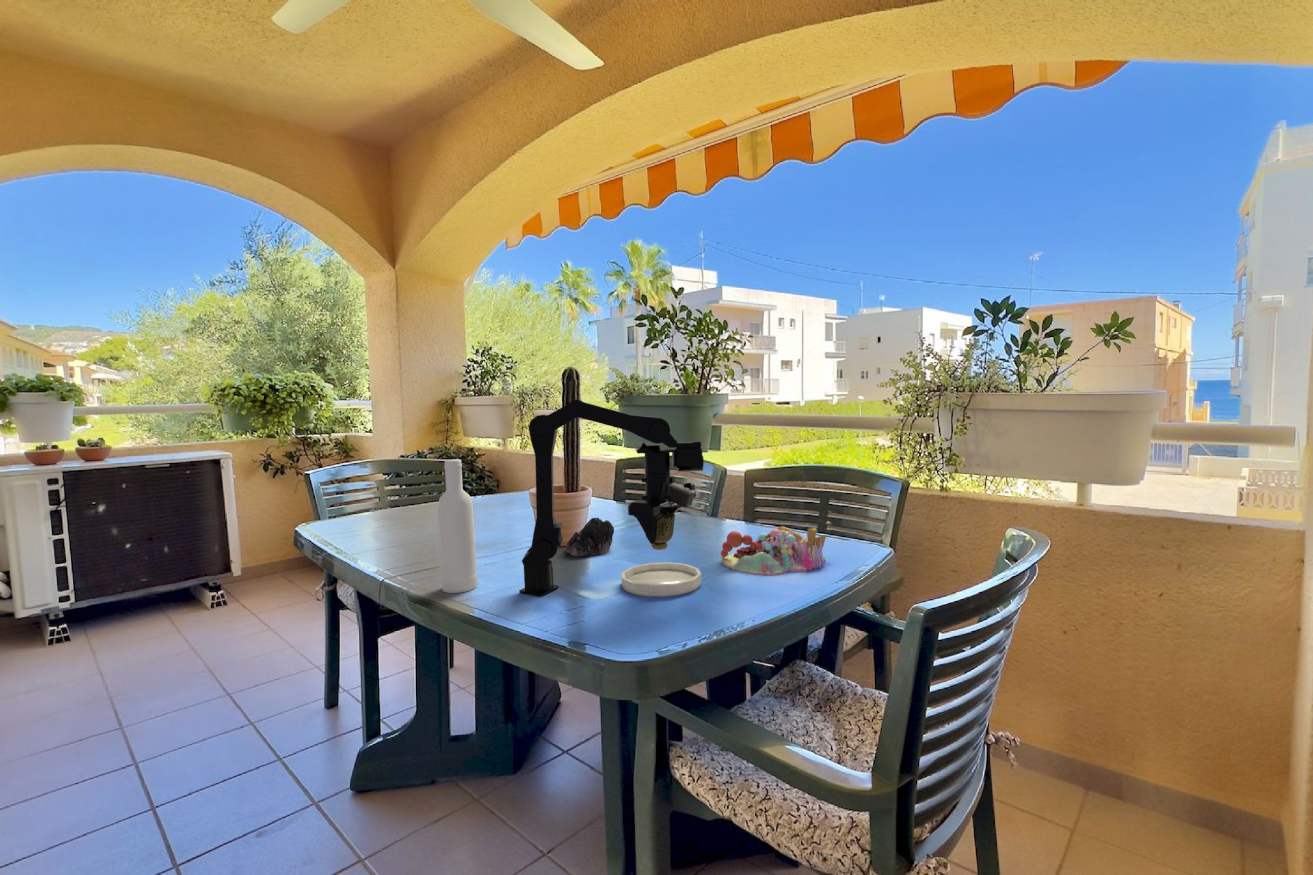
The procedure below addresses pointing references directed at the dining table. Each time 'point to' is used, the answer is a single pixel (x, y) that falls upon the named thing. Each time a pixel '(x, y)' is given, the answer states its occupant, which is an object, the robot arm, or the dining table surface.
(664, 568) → the dish
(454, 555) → the bottle
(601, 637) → the dining table surface
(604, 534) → the crystal cluster
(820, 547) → the pastel sphere sculpture
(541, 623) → the dining table surface
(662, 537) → the cup
